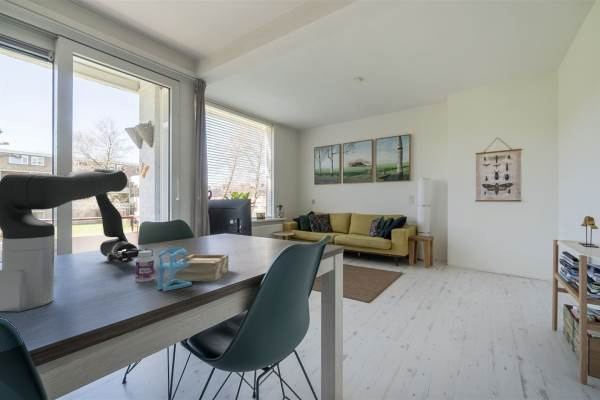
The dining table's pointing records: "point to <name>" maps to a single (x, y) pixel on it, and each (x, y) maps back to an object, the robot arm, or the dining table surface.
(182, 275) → the birch block
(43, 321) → the dining table surface
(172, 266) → the chair
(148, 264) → the pill bottle
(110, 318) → the dining table surface
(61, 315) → the dining table surface
